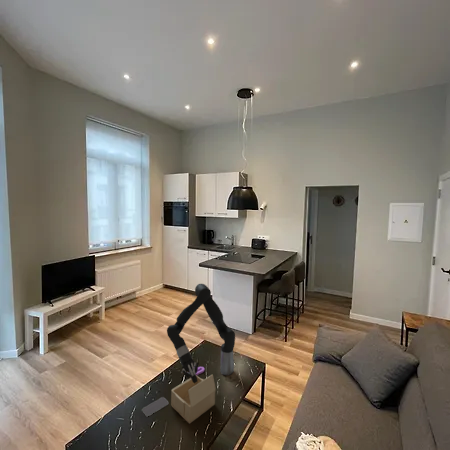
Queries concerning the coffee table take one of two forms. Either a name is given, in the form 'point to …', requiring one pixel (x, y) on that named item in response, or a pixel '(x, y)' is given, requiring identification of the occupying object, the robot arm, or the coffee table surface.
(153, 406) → the smartphone
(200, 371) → the bracket
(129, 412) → the coffee table surface
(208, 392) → the flap
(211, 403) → the carton
